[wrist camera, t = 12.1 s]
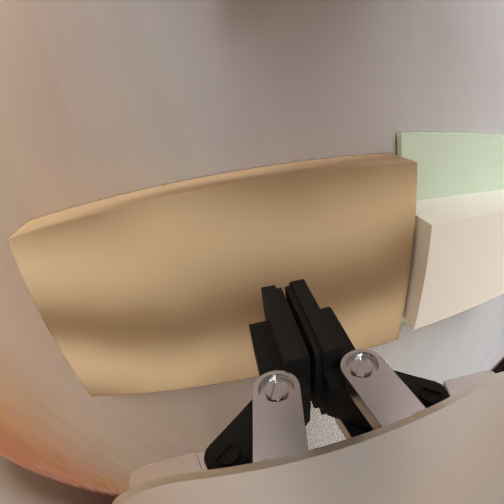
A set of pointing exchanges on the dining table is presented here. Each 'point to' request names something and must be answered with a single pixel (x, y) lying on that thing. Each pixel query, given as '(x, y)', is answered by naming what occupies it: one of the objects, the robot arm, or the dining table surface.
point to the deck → (219, 267)
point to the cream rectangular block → (455, 256)
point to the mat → (454, 162)
